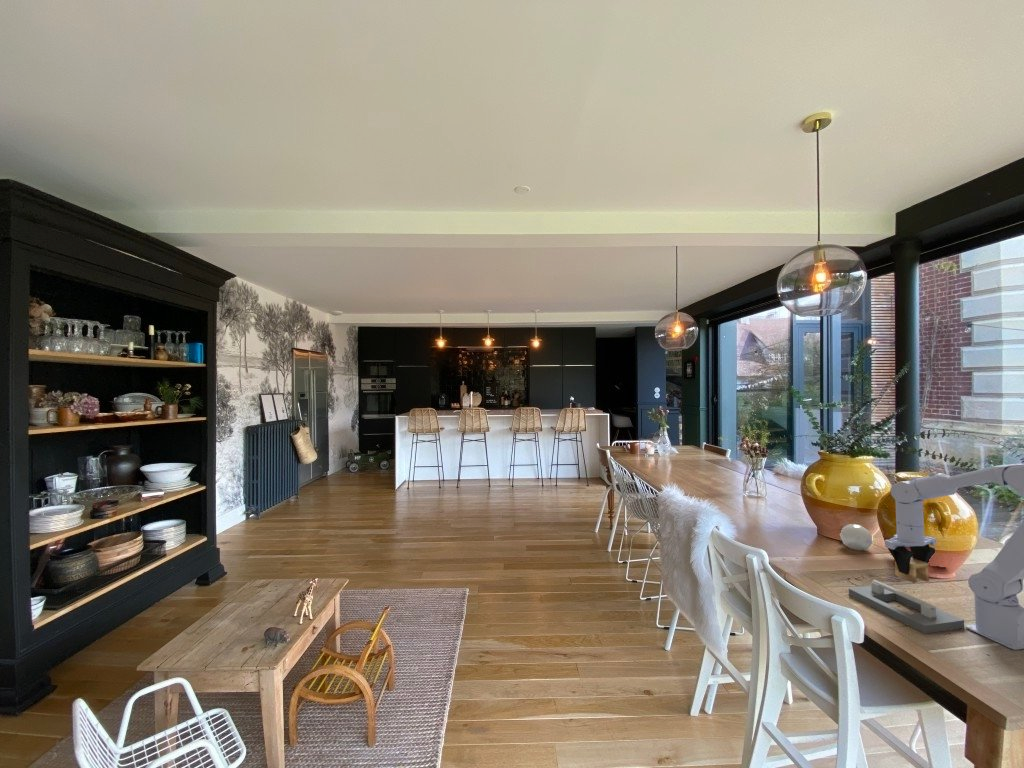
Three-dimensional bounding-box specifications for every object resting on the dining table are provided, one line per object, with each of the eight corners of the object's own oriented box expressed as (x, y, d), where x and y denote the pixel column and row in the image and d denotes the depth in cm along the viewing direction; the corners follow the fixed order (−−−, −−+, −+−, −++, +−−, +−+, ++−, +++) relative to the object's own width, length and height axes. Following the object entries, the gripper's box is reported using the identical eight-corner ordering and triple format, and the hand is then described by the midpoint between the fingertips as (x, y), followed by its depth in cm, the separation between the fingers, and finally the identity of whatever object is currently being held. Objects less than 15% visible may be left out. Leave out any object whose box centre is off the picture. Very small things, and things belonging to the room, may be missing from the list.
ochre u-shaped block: (928, 581, 117) (928, 563, 117) (914, 582, 116) (913, 564, 116) (909, 573, 122) (908, 556, 122) (895, 575, 121) (894, 557, 121)
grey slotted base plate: (964, 628, 107) (963, 607, 107) (924, 633, 105) (924, 613, 105) (883, 591, 126) (882, 574, 127) (848, 595, 125) (848, 577, 125)
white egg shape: (857, 558, 154) (845, 548, 167) (883, 544, 151) (869, 536, 165) (837, 535, 157) (827, 527, 170) (863, 521, 154) (850, 515, 168)
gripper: (916, 517, 124) (918, 564, 124) (873, 521, 122) (875, 568, 122) (943, 525, 117) (946, 574, 117) (899, 529, 115) (901, 579, 115)
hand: (911, 572), depth 119 cm, fingers closed on ochre u-shaped block, 5 cm apart
